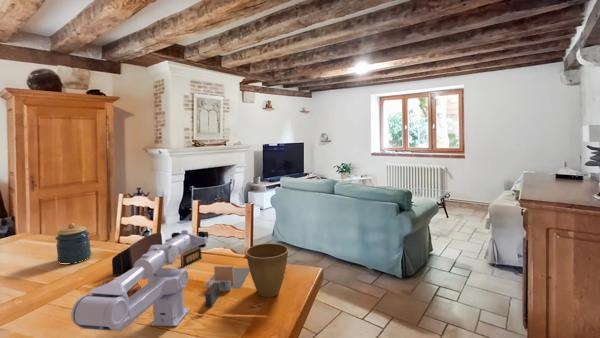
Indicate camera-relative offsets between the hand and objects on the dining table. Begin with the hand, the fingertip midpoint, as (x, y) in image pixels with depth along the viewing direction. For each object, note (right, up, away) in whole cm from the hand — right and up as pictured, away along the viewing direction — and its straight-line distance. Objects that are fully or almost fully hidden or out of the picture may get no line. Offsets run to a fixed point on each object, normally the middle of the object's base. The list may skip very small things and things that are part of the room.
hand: (197, 234), depth 118 cm
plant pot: (+27, -20, -3) cm, 34 cm away
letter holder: (-32, -19, +22) cm, 43 cm away
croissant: (-27, -21, -1) cm, 35 cm away
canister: (-68, -18, +31) cm, 77 cm away
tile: (+9, -19, +3) cm, 22 cm away
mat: (+10, -19, +9) cm, 23 cm away
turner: (+8, -21, -7) cm, 24 cm away
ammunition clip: (-11, -18, +26) cm, 33 cm away
